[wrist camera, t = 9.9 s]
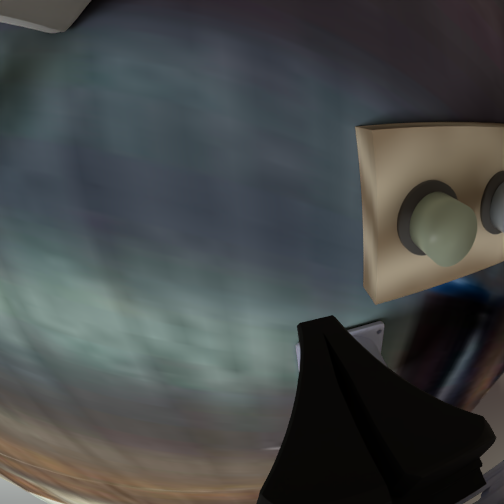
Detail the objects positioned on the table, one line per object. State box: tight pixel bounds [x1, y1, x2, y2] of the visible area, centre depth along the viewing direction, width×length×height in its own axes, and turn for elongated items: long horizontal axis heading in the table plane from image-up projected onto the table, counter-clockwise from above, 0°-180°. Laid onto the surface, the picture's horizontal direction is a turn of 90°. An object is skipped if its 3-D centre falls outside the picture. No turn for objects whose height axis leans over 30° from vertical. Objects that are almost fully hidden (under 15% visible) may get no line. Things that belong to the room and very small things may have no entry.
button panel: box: [355, 122, 504, 305], centre depth 18 cm, size 12×24×3 cm, turn 101°
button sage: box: [410, 192, 477, 267], centre depth 16 cm, size 4×4×2 cm
